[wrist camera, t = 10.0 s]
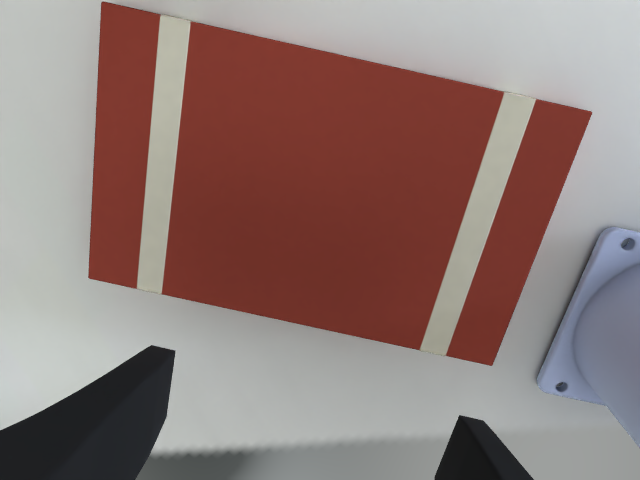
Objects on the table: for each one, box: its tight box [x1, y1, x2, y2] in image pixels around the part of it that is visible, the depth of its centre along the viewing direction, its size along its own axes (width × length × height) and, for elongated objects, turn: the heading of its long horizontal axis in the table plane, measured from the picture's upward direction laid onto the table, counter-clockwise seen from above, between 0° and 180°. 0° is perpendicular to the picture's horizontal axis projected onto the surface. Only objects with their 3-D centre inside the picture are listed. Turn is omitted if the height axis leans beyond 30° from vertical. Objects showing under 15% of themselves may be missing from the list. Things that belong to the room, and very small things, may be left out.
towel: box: [88, 2, 592, 366], centre depth 19 cm, size 18×11×1 cm, turn 78°
